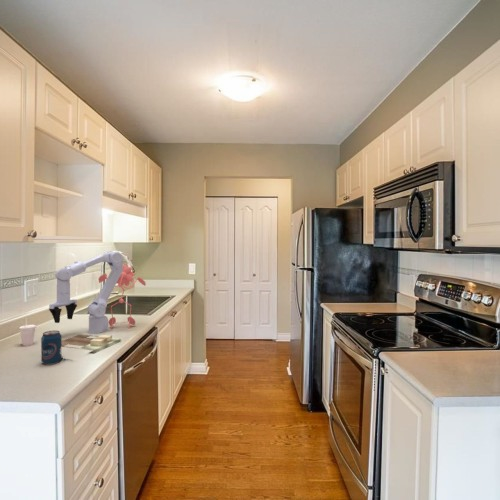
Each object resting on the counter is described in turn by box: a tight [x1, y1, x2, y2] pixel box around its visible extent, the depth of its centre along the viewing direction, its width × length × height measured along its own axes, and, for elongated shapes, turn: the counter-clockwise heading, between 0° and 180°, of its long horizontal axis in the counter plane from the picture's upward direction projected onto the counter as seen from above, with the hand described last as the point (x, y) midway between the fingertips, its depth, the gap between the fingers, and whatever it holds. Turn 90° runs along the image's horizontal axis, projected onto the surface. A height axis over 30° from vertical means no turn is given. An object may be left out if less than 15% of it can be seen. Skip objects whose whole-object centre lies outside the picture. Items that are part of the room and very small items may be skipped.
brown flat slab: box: [61, 333, 122, 355], centre depth 157 cm, size 18×24×2 cm
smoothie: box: [19, 316, 37, 347], centre depth 152 cm, size 6×6×14 cm
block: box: [90, 334, 113, 347], centre depth 154 cm, size 9×5×2 cm, turn 172°
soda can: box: [40, 330, 63, 366], centre depth 134 cm, size 7×7×12 cm
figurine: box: [98, 264, 147, 330], centre depth 192 cm, size 15×26×35 cm, turn 98°
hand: (63, 320), depth 164 cm, fingers open, 7 cm apart
